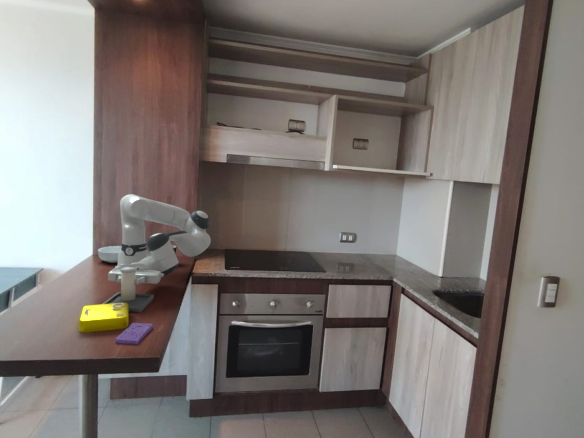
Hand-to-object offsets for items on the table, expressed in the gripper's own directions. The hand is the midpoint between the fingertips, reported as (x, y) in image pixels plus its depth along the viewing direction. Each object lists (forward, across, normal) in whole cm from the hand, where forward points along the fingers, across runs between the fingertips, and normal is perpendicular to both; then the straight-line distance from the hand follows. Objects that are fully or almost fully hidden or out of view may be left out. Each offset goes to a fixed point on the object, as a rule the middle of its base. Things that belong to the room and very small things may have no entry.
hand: (127, 281), depth 145 cm
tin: (-1, 0, -7) cm, 7 cm away
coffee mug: (-65, +5, -10) cm, 66 cm away
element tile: (+16, +1, -10) cm, 19 cm away
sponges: (+25, -13, -10) cm, 30 cm away
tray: (-1, 0, -10) cm, 10 cm away
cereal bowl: (-63, +33, -10) cm, 72 cm away
